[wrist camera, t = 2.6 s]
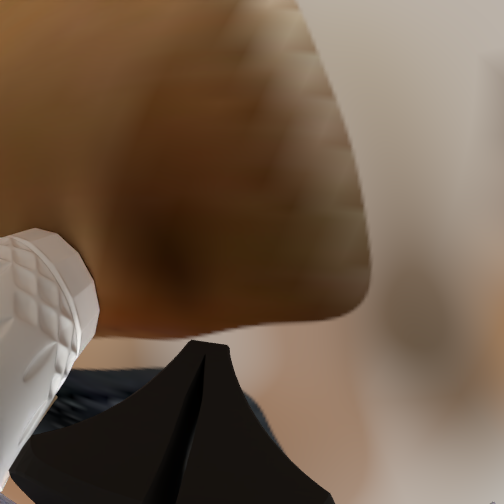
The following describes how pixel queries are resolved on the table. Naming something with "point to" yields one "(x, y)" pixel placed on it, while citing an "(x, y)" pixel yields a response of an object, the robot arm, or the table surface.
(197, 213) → the table surface
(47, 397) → the white cup
